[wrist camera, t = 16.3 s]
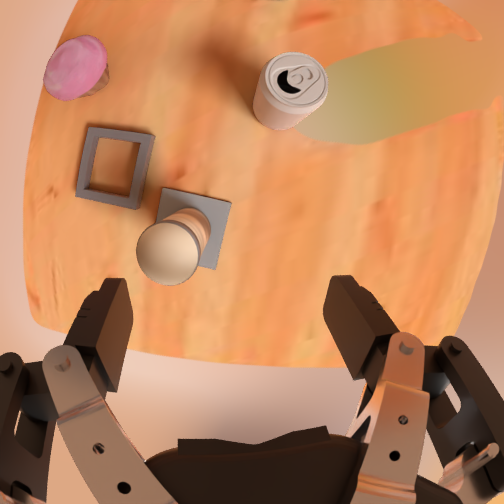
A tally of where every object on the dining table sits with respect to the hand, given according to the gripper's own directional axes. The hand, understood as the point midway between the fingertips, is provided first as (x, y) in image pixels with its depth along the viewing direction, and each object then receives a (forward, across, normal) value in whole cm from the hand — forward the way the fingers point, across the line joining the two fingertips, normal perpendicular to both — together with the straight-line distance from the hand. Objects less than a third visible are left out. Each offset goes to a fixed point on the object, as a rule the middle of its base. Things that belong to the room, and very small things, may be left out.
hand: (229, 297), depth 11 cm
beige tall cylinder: (+24, +3, +8) cm, 26 cm away
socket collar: (+28, +14, 0) cm, 31 cm away
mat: (+25, +3, +8) cm, 26 cm away
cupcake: (+31, +18, -13) cm, 38 cm away
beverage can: (+28, -7, -8) cm, 30 cm away
